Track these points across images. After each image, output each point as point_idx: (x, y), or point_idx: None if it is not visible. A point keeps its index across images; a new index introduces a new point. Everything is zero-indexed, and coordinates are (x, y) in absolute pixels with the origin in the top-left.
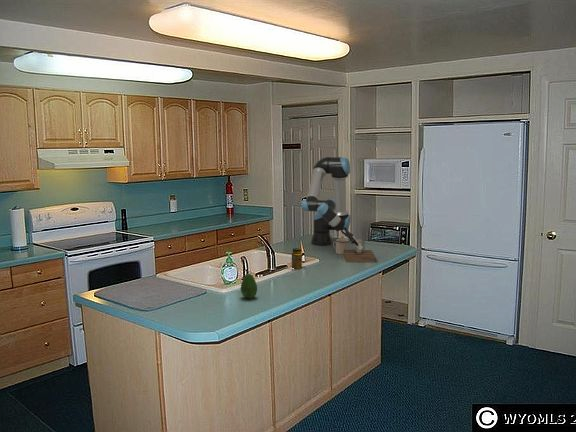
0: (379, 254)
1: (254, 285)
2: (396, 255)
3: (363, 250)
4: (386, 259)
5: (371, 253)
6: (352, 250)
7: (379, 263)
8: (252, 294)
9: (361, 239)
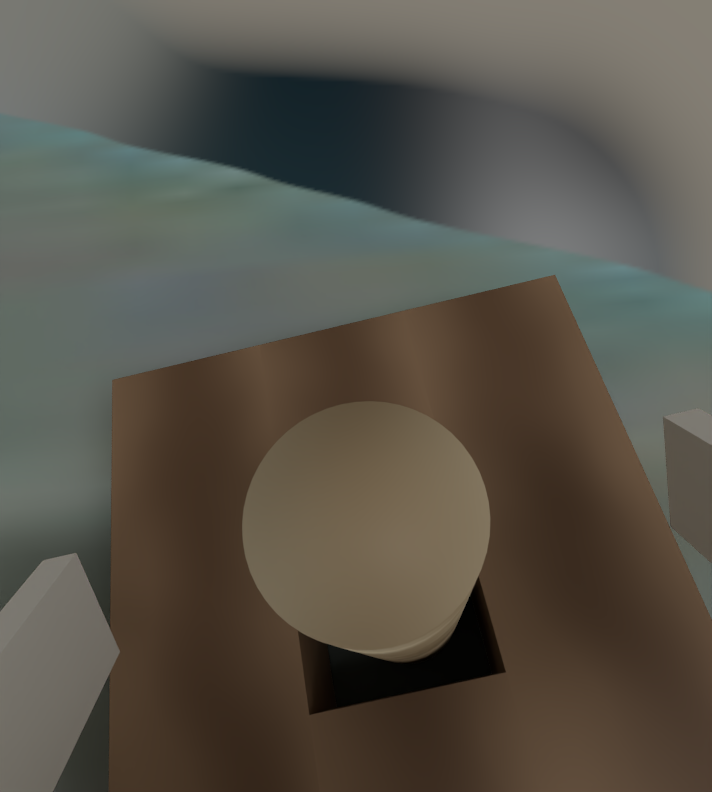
0: (27, 335)
1: None
2: (85, 169)
3: (168, 509)
4: (308, 234)
5: (413, 342)
6: (187, 779)
7: (572, 282)
8: None
9: (318, 424)
